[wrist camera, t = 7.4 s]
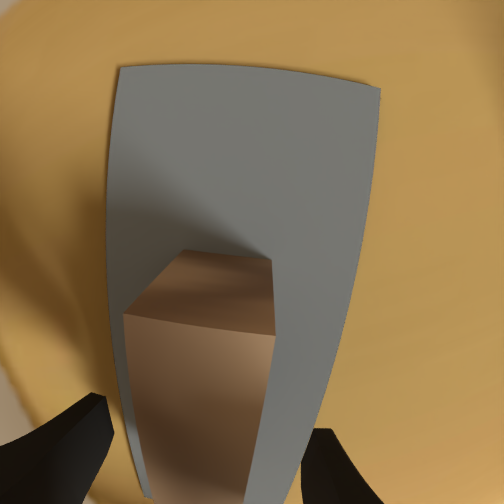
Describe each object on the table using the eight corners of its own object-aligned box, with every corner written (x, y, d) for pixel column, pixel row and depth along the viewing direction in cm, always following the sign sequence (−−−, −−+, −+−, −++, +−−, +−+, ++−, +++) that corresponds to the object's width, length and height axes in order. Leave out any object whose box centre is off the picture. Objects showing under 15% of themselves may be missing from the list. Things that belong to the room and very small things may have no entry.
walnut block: (271, 260, 11) (275, 335, 6) (241, 463, 13) (233, 543, 9) (183, 249, 11) (122, 313, 6) (183, 454, 13) (162, 531, 9)
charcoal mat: (277, 511, 16) (277, 516, 15) (145, 492, 16) (144, 496, 15) (377, 90, 9) (380, 88, 9) (125, 70, 9) (120, 67, 9)
